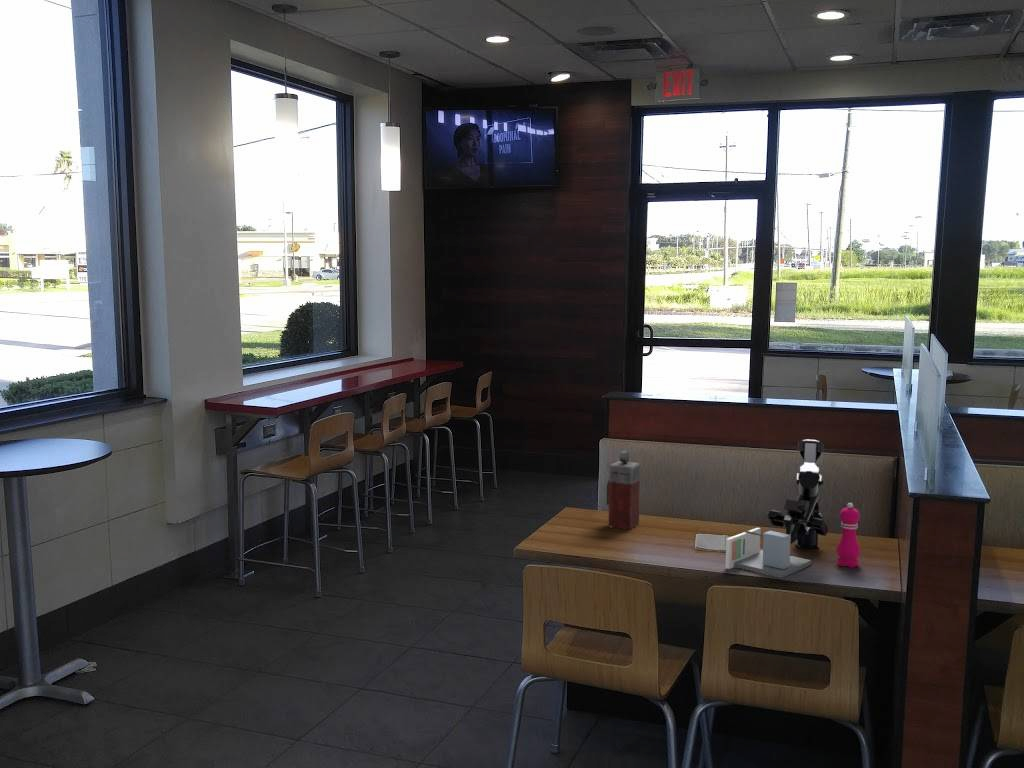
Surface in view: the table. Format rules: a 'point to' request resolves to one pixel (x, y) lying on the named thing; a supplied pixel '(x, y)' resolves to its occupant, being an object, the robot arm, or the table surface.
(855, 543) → the pepper mill
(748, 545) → the gauge stand
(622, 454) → the red square canister
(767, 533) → the gauge carriage
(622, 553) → the table surface
